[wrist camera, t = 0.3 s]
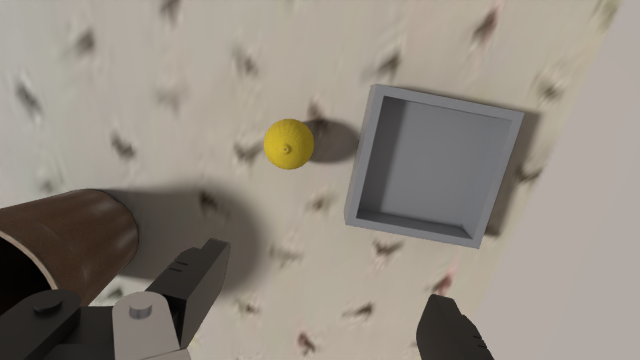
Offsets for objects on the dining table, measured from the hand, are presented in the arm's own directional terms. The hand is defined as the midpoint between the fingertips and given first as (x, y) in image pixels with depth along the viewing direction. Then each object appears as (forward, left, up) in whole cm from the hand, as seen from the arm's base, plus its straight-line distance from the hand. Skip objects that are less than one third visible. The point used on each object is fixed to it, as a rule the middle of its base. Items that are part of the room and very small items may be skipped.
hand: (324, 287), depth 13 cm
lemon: (-1, -4, -29) cm, 29 cm away
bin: (-1, +12, -29) cm, 31 cm away
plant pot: (+16, -28, -29) cm, 43 cm away
